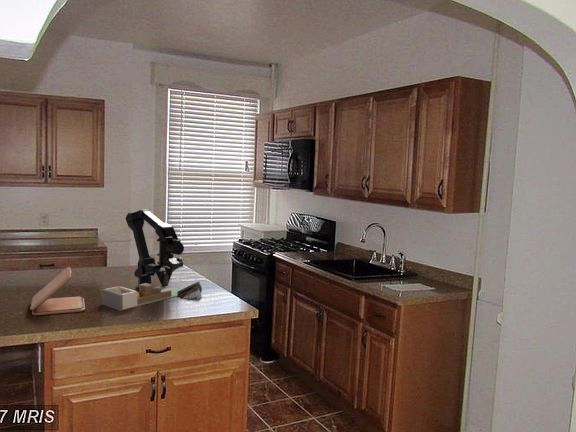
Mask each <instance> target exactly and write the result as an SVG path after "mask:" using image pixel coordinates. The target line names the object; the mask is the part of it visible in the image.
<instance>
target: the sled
mask: <svg viewBox="0 0 576 432" xmlns="http://www.w3.org/2000/svg"><path fill="white" fill-rule="evenodd" d="M160 285H161V286H156V287H154V285H153V284H152V283H151V284H148V283H145V284H140V285H139V289H138V292H139V295H140V297H144V296H148V295H152V294H153V291H155V290H160V289H161V290H164V289H167V287H168V286H169V283H168V273H164V279H163V284H161V283H160Z"/></svg>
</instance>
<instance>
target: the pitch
mask: <svg viewBox="0 0 576 432" xmlns="http://www.w3.org/2000/svg"><path fill="white" fill-rule="evenodd" d="M180 290H181V289H180V288H177V287H176V288H175V287H168V288H164V289H160V290H155V291H153V294H152V295H148V296H144V297H140V298H137V306H134V307H130V308H126V309H122V310H119V309H116V308H113V307H110V306H108V305H105V304H102V305H103V306H106V307H109V308H111V309H115V310H118V311H120V312H121V311H124V310H129V309H132V308H136V307H141V306H145V305H147V304H152V303H156V302H159V301H164V300H168V299H171V298H175V297H176V298H177V297H179V296H178V295H177V292H178V291H180ZM137 293H138V294H139V291H137Z"/></svg>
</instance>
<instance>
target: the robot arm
mask: <svg viewBox="0 0 576 432" xmlns="http://www.w3.org/2000/svg"><path fill="white" fill-rule="evenodd" d="M125 222H126V224H127V226H128V228H129V229H130V230H131V231H132V234H133V238H134V242H135V245H136V249H137V254H138V255H137V256H138V261H137V268H136V269H135V271H133V272H134V274H133V275H134V277H135V278H137V286H134V287H135V289H138V290H139V285H140V284H145V283H148V284H151V285H152V277H153V276H155V274H156V277H157V278H158V281H159V282H160V285H161V284H163V279H164V273H168V284H169V283H170V281H171V280H170V279H171V277H172V275H173V272H175V271H176V270H178V269H179V268H182V267H184V262H183V257H181V256H180V255H182V254H183V253H184V250H185V247H184V245H183V243H182V241H181V240H180V239H179V238H178V235H177V233H176V231H175V229H174V226H173V225H171V224H169V223H166V222H164V221H162V220H160V219H159V218H158V217H157V216H155V215H154V214H153V213H152V212H151V211H150V209H139V210H136V211H134V212H128V213H127V214H126V216H125ZM145 222H146V223H147V224H148V225H149V226H150V227H152V228H153V229H154V230H155V231H154V232H155V234H156V236H157V237H158V238H157V239H156V241H157V243H158V242H159V246H158V248H159V250H158V251H159V252H158V253H157V254H156V255H157V256H158V258H159V259H158V261H156V259H155V257H152V256H151V255H150V253H149V248H148V245H147V240H146V237H145V232H144V229H143V228H144V225H145ZM175 255H177V256H180V257H176V258H175V257H174V256H175ZM156 263H157V264H156Z"/></svg>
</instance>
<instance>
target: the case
mask: <svg viewBox="0 0 576 432" xmlns="http://www.w3.org/2000/svg"><path fill="white" fill-rule="evenodd" d="M72 275H73V271H72V269H71V267H70V266H68V267H66V268H64V269H63V270H62V271H61V272H60V273H59V274H57V275H56V276H55V277H54V278H53V279H52V280H51V281H50V282H49V283H47V284H46V285H45V286H44V287H43V288H42V289H40V290H39V291H38V292H37V293H36V294H35V295H33V297H32V298H31V304H30V307H29V308H30V310H31V311H32V312H31V313H32V315H33V316H45V315H46V316H47V315H55V314H56V315H58V314H69V313H70V314H71V313H82V312H84V311H85V310H86V305H85V304H86V303H85V298H84V297H82V296H77V295H76V296H65V297H63V296H62V297H53V298H51V297H52V296H53V295H54V294H55V293H57V292H58V291H59V290H60V289H61V288H63V287H64V286H65V285H66V284H68V283H69V281H70V280H71V278H72Z"/></svg>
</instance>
